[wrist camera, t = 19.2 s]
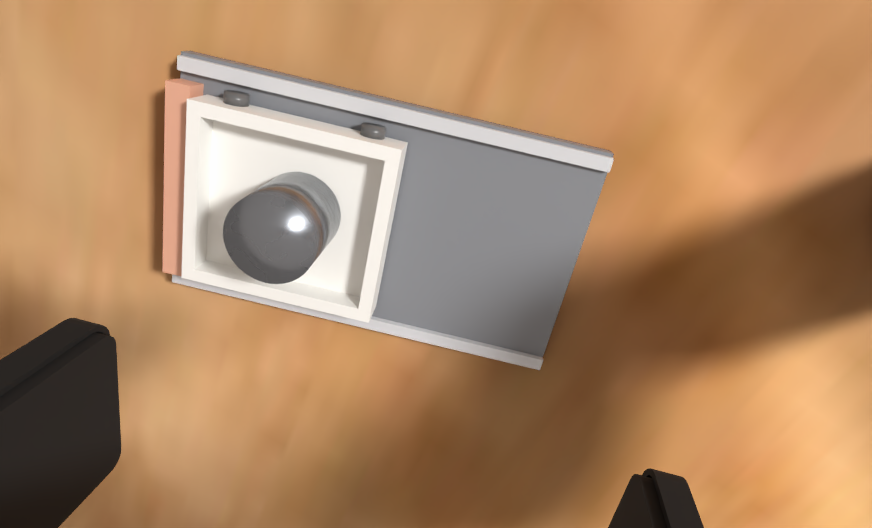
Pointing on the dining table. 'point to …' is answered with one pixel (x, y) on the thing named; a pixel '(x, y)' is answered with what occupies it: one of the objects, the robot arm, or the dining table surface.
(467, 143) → the rail board
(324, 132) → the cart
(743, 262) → the dining table surface
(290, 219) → the part
